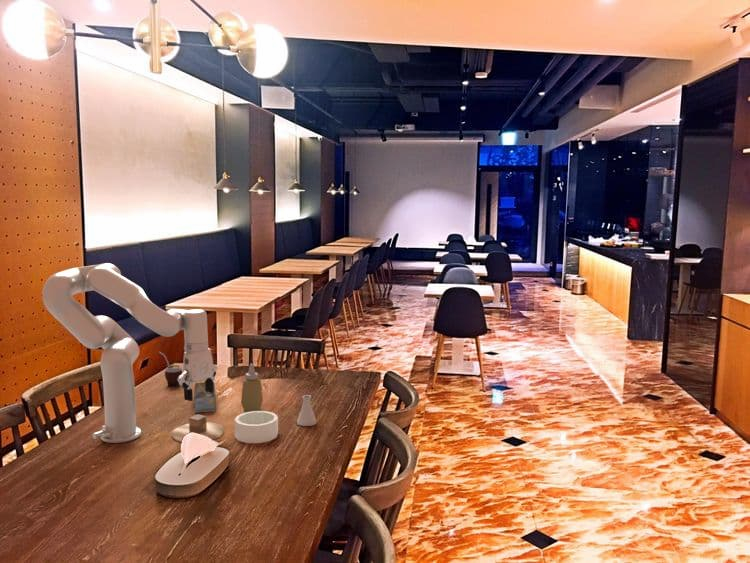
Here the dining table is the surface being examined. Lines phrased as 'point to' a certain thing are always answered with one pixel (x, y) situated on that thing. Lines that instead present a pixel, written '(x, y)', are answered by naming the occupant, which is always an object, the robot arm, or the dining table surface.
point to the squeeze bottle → (251, 391)
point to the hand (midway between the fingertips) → (199, 395)
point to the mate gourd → (172, 373)
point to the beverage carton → (203, 398)
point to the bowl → (256, 427)
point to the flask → (306, 413)
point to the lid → (198, 428)
